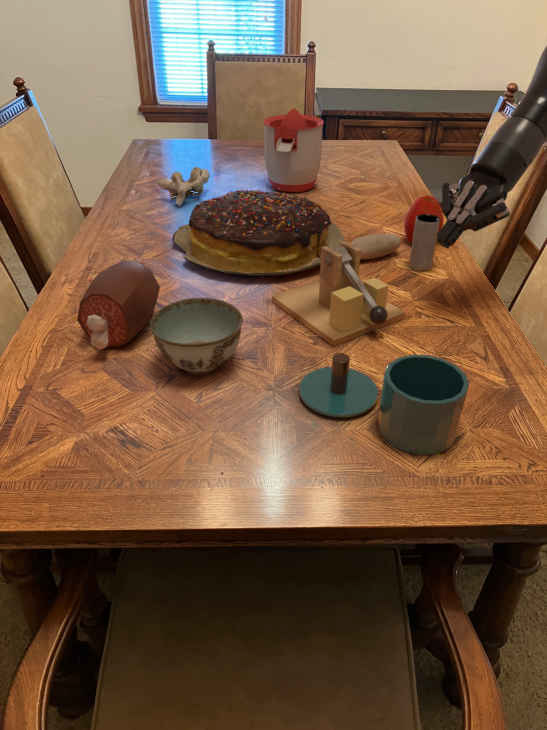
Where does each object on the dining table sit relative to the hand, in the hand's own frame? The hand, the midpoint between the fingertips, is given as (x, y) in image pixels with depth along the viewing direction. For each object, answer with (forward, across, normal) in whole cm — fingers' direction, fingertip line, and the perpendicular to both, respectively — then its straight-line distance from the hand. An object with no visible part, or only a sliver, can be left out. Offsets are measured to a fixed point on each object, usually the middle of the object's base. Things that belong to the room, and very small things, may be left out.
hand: (441, 244), depth 93 cm
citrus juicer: (-4, -70, +24) cm, 74 cm away
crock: (+26, +20, -7) cm, 33 cm away
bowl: (+38, -10, -19) cm, 43 cm away
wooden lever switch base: (+18, -11, +1) cm, 21 cm away
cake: (+15, -42, +4) cm, 45 cm away
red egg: (-6, -24, +26) cm, 35 cm away
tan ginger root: (+16, -77, +4) cm, 79 cm away
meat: (+42, -26, -23) cm, 55 cm away
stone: (+4, -24, +16) cm, 29 cm away
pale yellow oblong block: (+20, -5, -2) cm, 20 cm away
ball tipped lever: (+14, -6, -3) cm, 16 cm away
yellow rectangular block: (+15, -5, +2) cm, 16 cm away
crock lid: (+28, +8, -10) cm, 31 cm away
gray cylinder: (0, -15, +19) cm, 24 cm away
